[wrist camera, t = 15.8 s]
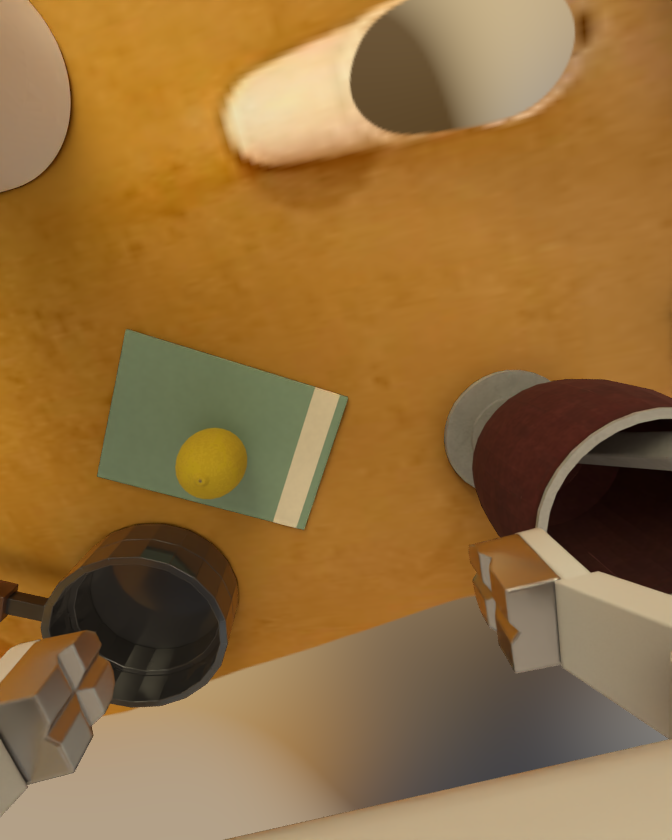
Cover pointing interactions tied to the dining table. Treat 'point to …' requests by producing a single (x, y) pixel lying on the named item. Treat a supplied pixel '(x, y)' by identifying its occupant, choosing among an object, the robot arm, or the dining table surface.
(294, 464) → the tea towel
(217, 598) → the pan
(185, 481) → the lemon
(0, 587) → the pan handle
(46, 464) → the dining table surface
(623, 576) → the mate gourd
